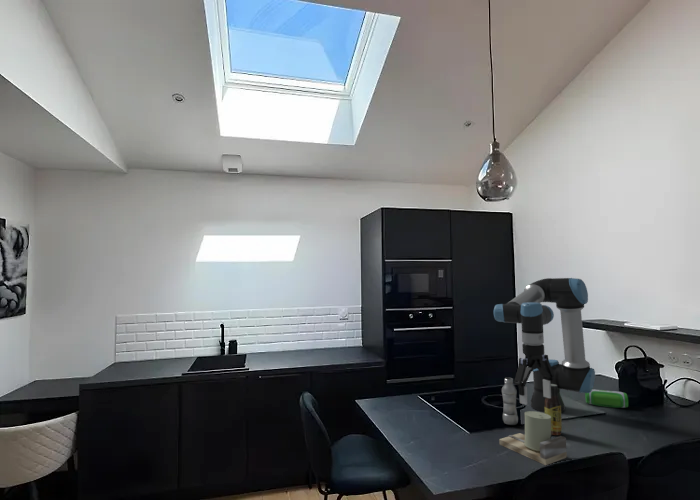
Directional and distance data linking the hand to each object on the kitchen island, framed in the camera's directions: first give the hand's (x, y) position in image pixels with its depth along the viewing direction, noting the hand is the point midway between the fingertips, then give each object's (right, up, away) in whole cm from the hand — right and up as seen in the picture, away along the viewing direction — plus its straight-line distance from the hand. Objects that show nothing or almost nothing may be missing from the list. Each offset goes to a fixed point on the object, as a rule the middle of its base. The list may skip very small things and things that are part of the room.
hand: (535, 400), depth 151 cm
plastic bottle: (+2, -21, +27) cm, 35 cm away
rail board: (-1, -19, +1) cm, 19 cm away
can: (0, -17, -1) cm, 17 cm away
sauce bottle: (+15, -20, +17) cm, 30 cm away
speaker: (+58, -22, +49) cm, 80 cm away
